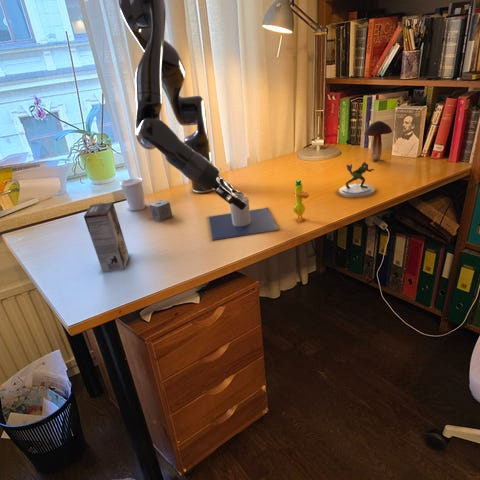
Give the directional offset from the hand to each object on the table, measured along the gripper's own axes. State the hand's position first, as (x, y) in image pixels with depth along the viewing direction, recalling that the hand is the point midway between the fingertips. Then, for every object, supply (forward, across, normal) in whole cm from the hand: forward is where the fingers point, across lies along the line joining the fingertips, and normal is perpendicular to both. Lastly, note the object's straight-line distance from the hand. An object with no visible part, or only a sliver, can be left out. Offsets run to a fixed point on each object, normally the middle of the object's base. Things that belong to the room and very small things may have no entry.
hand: (242, 202), depth 127 cm
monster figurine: (+34, +13, -24) cm, 43 cm away
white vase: (+4, 0, +5) cm, 6 cm away
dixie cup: (-21, +32, +31) cm, 49 cm away
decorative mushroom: (+49, +48, -39) cm, 79 cm away
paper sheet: (+4, 0, +5) cm, 7 cm away
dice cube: (-14, +17, +24) cm, 33 cm away
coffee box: (-23, -16, +32) cm, 43 cm away
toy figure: (+17, -5, -7) cm, 19 cm away
